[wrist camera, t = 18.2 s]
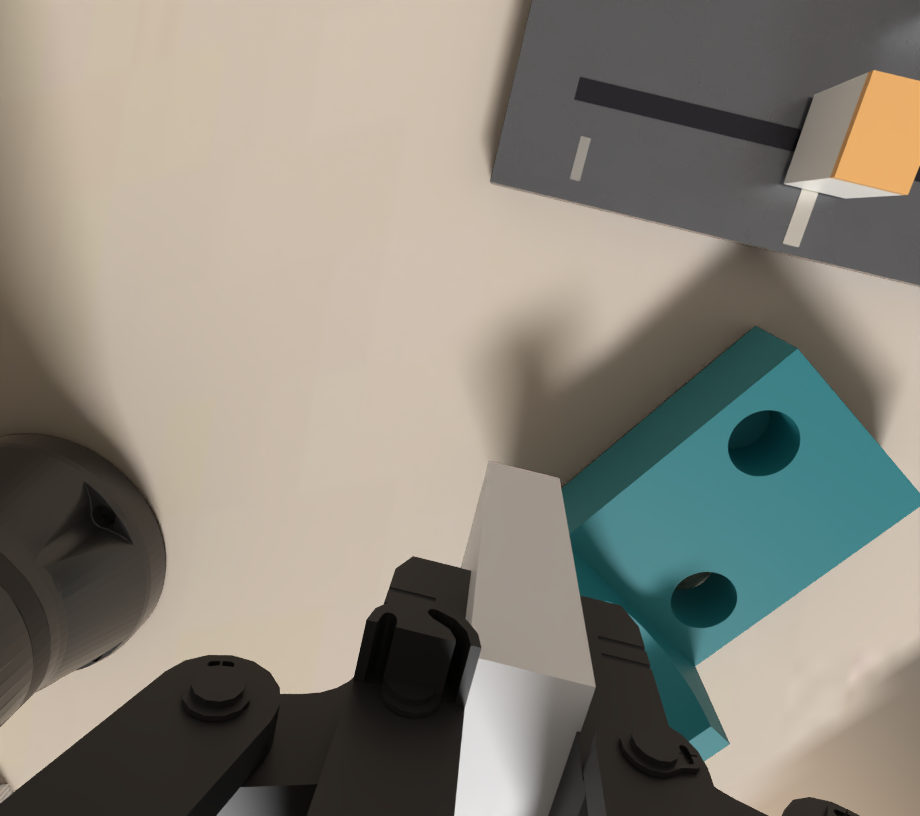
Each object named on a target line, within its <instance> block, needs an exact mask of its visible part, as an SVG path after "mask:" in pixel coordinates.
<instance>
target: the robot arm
mask: <svg viewBox="0 0 920 816" xmlns="http://www.w3.org/2000/svg"><path fill="white" fill-rule="evenodd" d="M165 570H166V559H165V550H164V544H163V540H162V536H161V533H160V529H159V527H158V524H157V522H156V519H155V517H154V515H153V513H152V511H151V509H150V507H149V506H148V504H147V502H146V501H145V499H144V498H143V496H142V495H141V494H140V492H139V491H138V490H137V488H136V487H135V486H134V485H133V484H132V483H131V482H130V480H129V479H128V478H127V477H126V476H125V475H124V474H123V473H121V472H120V471H119V470H118V469H117V468H116V467H114V466H113V465H112V464H111V463H109V462H108V461H106V460H105V459H104V458H102V457H101V456H99V455H97V454H96V453H94V452H92V451H90V450H88V449H86V448H84V447H82V446H80V445H78V444H75V443H73V442H70V441H67V440H64V439H60V438H56V437H52V436H46V435H39V434H16V435H8V436H3V437H0V727H1V726H2V725H3V724H4V723H5V722H6V721H7V720H8V719H9V718H10V717H11V716H12V715H13V714H14V713H15V712H16V711H17V710H18V709H19V708H20V707H21V706H22V705H23V704H24V703H25V702H26V701H27V700H28V699H29V698H30V697H31V696H32V695H33V694H34V693H35V692H37V691H39V690H41V689H43V688H45V687H47V686H49V685H50V684H52V683H54V682H56V681H57V680H59V679H60V678H62V677H64V676H66V675H68V674H70V673H71V672H73V671H76V670H79V669H83V668H85V667H88V666H91V665H93V664H95V663H97V662H99V661H101V660H103V659H105V658H106V657H108V656H109V655H111V654H112V653H114V652H115V651H116V650H118V649H119V648H120V647H121V646H123V645H124V644H125V643H126V642H127V641H128V640H129V639H130V638H131V637H132V635H133V634H134V633H135V632H136V631H137V630H138V629H139V628H140V627H141V626H142V625H143V624H144V622H145V621H146V620H147V619H148V618H149V616H150V615H151V613H152V612H153V610H154V608H155V607H156V605H157V603H158V600H159V598H160V595H161V592H162V589H163V585H164V579H165ZM644 650H645V646H644V642H643V639H642V636H641V633H640V629H639V626H638V625H637V624H636V623H635V622H634V620H633V619H632V618H631V617H630V616H629V614H628V613H627V612H626V611H625V610H624V609H623V607H622V606H621V605H617V604H613V603H609V602H605V601H601V600H597V599H593V598H589V597H585V596H581V595H580V593H579V588H578V582H577V576H576V570H575V564H574V559H573V553H572V547H571V541H570V536H569V530H568V524H567V518H566V513H565V507H564V501H563V495H562V490H561V484H560V478H557V477H553V476H549V475H545V474H541V473H537V472H533V471H529V470H525V469H521V468H517V467H512V466H508V465H504V464H500V463H496V462H492V461H489V462H488V466H487V470H486V474H485V477H484V481H483V485H482V489H481V493H480V497H479V501H478V504H477V508H476V512H475V516H474V520H473V524H472V528H471V531H470V535H469V539H468V543H467V547H466V551H465V554H464V558H463V562H462V566H461V568H458V567H454V566H450V565H446V564H442V563H438V562H434V561H430V560H426V559H422V558H418V557H414V556H413V557H411V558H410V559H409V560H407V561H406V562H404V563H403V564H402V565H400V566H399V567H397V568H396V569H395V572H394V575H393V578H392V581H391V584H390V587H389V590H388V593H387V596H386V599H385V602H384V605H382V606H380V607H377V608H375V610H374V611H373V612H372V613H371V615H370V616H369V617H368V619H367V620H366V625H365V630H364V634H363V639H362V643H361V648H360V652H359V657H358V661H357V666H356V670H355V675H354V677H353V678H352V679H351V680H350V681H349V682H347V683H345V684H343V685H341V686H339V687H338V688H335V689H332V690H328V691H324V692H321V693H310V694H280V687H279V686H278V684H277V682H276V681H275V679H274V678H273V676H272V675H271V673H270V672H269V671H267V670H266V669H264V668H263V667H261V666H260V665H258V664H257V663H255V662H254V661H250V660H246V659H243V658H239V657H236V656H232V655H207V656H202V657H198V658H194V659H190V660H185V661H183V662H182V663H180V664H178V665H176V666H174V667H173V668H171V669H169V670H167V671H165V672H164V673H163V674H162V675H160V676H159V677H158V678H157V679H155V680H154V681H153V682H152V683H150V684H149V685H148V686H147V687H145V688H144V689H143V690H142V691H140V692H139V693H138V694H137V695H135V696H134V697H133V698H132V699H130V700H129V701H128V702H127V703H125V704H124V705H123V706H122V707H120V708H119V709H118V710H117V711H115V712H114V713H113V714H111V715H110V716H109V717H108V718H106V719H105V720H104V721H103V722H101V723H100V724H99V725H98V726H96V727H95V728H94V729H93V730H91V731H90V732H89V733H88V734H86V735H85V736H84V737H83V738H81V739H80V740H79V741H78V742H76V743H75V744H74V745H73V746H71V747H70V748H69V749H68V750H66V751H65V752H64V753H63V754H61V755H60V756H59V757H58V758H56V759H55V760H54V761H53V762H51V763H50V764H49V765H48V766H46V767H45V768H44V769H43V770H41V771H40V772H39V773H37V774H36V775H35V776H34V777H32V778H31V779H30V780H29V781H27V782H26V783H25V784H24V785H22V786H21V787H20V788H19V789H17V790H16V791H15V792H14V793H12V794H11V795H10V796H9V797H7V798H6V799H5V800H4V801H2V802H1V803H0V816H768V815H766V814H764V813H762V812H760V811H758V810H756V809H754V808H752V807H750V806H748V805H746V804H744V803H742V802H740V801H738V800H736V799H734V798H732V797H730V796H729V795H727V794H725V793H723V792H722V791H720V790H718V789H717V788H715V787H714V785H713V782H712V779H711V776H710V773H709V771H708V768H707V766H706V764H705V763H704V761H703V759H702V757H701V756H700V754H699V752H698V751H697V750H696V749H695V748H694V747H693V746H692V745H691V744H690V742H689V741H688V740H687V739H686V738H685V737H684V736H683V735H681V734H680V733H678V732H677V731H675V730H674V729H672V728H671V727H669V725H668V721H667V718H666V715H665V711H664V708H663V705H662V702H661V698H660V695H659V692H658V688H657V685H656V682H655V679H654V675H653V672H652V670H651V669H650V662H649V659H648V656H647V652H646V651H644ZM782 816H859V815H857V814H855V813H853V812H852V811H850V810H848V809H845V808H843V807H841V806H839V805H837V804H835V803H833V802H829V801H825V800H820V799H816V798H811V797H808V798H802V799H795V800H793V801H792V802H791V803H790V804H789V805H788V807H787V808H786V809H785V810H784V812H783V814H782Z"/></svg>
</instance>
